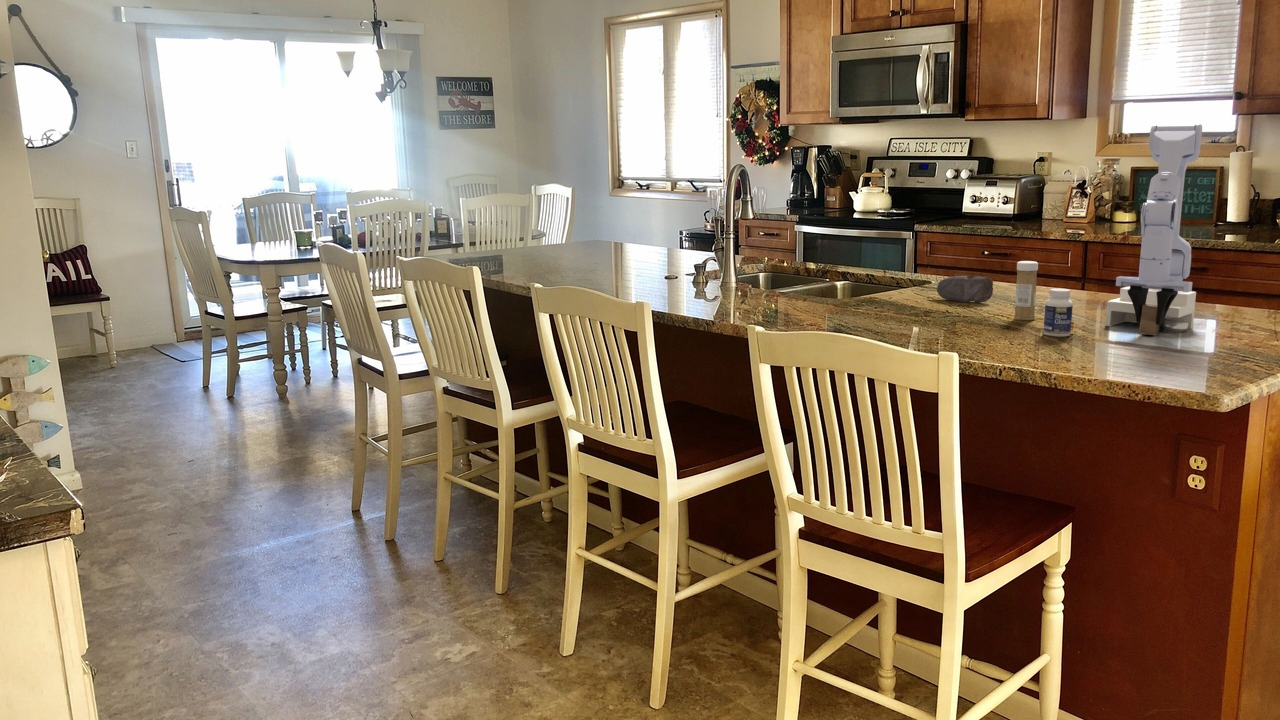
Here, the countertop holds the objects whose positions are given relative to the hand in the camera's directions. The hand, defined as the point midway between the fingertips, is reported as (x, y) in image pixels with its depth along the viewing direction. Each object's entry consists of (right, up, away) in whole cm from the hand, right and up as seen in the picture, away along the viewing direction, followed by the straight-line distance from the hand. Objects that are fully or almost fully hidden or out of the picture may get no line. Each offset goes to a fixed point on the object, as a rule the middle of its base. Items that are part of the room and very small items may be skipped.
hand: (1149, 323), depth 212 cm
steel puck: (+8, -2, +5) cm, 9 cm away
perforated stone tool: (-24, +7, +49) cm, 55 cm away
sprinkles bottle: (-18, +1, +22) cm, 29 cm away
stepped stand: (+5, -1, +9) cm, 10 cm away
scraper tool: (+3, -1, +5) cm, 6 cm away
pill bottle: (-18, -3, +3) cm, 19 cm away
